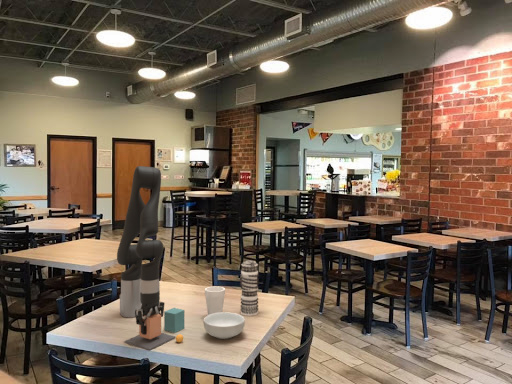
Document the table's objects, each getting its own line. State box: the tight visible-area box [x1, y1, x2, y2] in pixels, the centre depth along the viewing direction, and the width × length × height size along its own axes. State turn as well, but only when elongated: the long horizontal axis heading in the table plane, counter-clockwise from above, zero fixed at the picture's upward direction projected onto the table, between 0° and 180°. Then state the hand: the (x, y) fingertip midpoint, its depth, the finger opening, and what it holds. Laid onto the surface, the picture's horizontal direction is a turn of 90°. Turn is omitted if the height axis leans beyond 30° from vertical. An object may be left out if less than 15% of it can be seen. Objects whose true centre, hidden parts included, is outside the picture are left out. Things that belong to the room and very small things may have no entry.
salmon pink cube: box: [138, 313, 162, 339], centre depth 164 cm, size 6×6×8 cm
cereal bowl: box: [203, 311, 246, 340], centre depth 169 cm, size 17×17×7 cm
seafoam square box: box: [163, 307, 185, 334], centre depth 176 cm, size 6×6×8 cm
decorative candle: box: [239, 259, 260, 317], centre depth 197 cm, size 9×9×25 cm
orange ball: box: [175, 333, 184, 343], centre depth 162 cm, size 3×3×3 cm
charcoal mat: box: [123, 332, 176, 351], centre depth 164 cm, size 14×14×1 cm
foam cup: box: [204, 285, 226, 316], centre depth 192 cm, size 10×9×13 cm
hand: (150, 331), depth 164 cm, fingers closed on salmon pink cube, 6 cm apart
